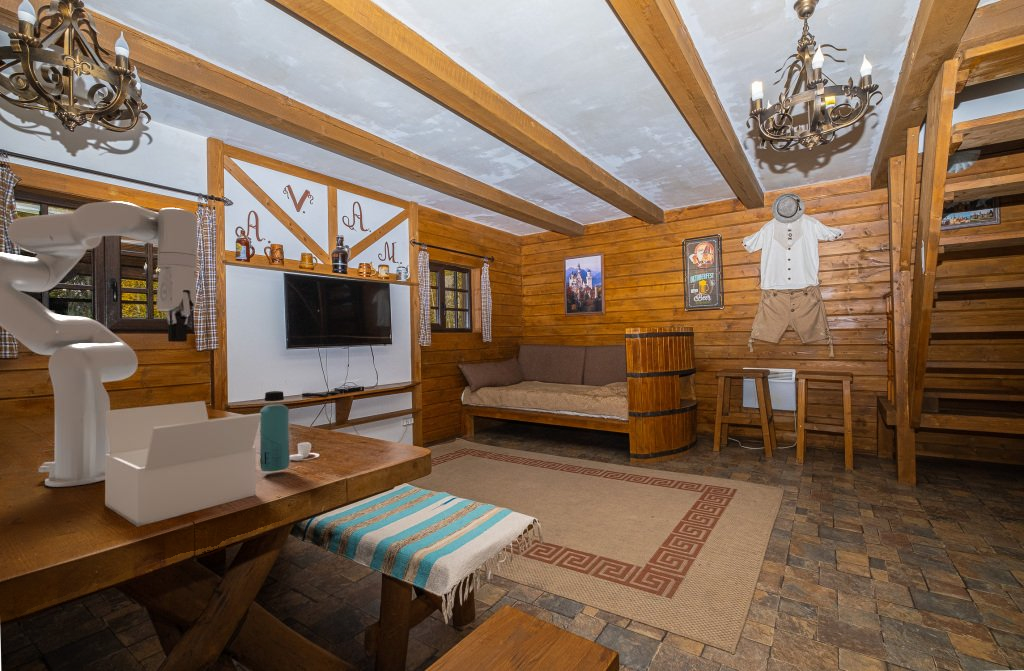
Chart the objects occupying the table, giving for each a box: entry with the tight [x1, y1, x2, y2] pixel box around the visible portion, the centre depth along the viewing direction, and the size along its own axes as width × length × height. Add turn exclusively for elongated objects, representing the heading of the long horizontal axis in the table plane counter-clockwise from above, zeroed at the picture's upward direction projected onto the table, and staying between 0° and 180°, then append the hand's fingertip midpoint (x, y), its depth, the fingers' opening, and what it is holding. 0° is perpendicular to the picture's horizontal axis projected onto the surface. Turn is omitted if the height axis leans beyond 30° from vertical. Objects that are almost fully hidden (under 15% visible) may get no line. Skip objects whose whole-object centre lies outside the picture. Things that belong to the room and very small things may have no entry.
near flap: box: [145, 412, 261, 470], centre depth 88 cm, size 18×8×1 cm
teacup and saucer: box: [289, 441, 320, 461], centre depth 128 cm, size 9×8×4 cm
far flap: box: [105, 400, 209, 454], centre depth 101 cm, size 18×9×1 cm
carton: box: [104, 445, 257, 528], centre depth 94 cm, size 20×18×10 cm
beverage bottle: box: [259, 390, 291, 472], centre depth 112 cm, size 6×7×20 cm
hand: (177, 341), depth 109 cm, fingers closed
